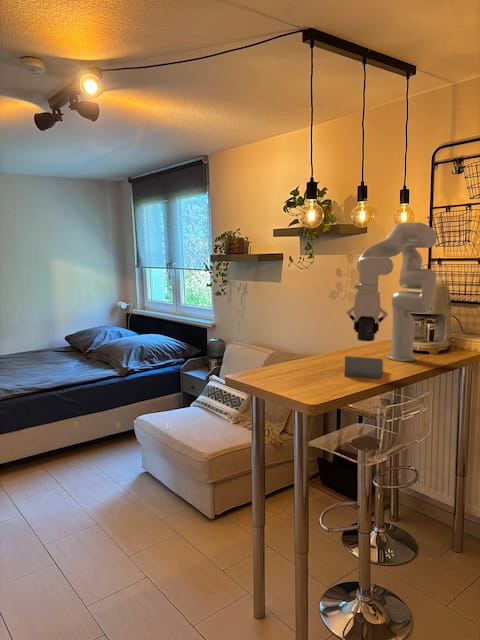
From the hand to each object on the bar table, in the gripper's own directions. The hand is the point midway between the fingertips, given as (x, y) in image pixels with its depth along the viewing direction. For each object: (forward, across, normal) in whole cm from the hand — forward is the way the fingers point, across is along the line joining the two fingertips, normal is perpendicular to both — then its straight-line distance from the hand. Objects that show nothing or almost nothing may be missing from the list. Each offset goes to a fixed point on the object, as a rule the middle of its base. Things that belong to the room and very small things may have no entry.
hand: (366, 332), depth 188 cm
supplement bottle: (+3, 0, 0) cm, 3 cm away
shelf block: (+17, 0, -1) cm, 17 cm away
